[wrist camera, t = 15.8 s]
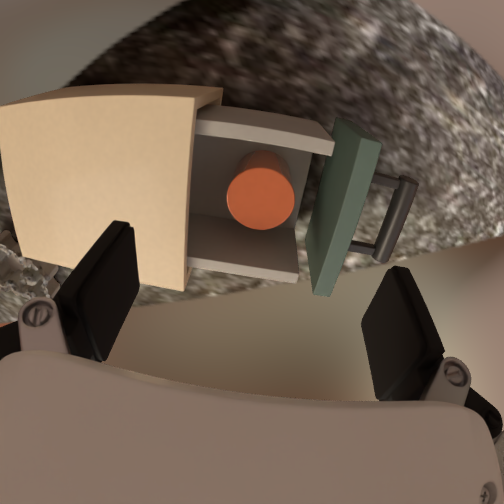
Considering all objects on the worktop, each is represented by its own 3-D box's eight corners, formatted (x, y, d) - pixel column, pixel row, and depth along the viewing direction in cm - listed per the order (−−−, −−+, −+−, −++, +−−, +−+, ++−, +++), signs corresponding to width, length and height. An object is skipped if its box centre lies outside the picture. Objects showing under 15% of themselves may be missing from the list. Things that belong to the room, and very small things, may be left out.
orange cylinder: (232, 150, 20) (224, 168, 17) (292, 149, 20) (296, 167, 16) (235, 203, 22) (228, 230, 19) (290, 203, 22) (293, 230, 18)
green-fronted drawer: (403, 136, 19) (447, 164, 14) (364, 250, 25) (386, 304, 19) (176, 93, 19) (137, 104, 13) (169, 218, 24) (140, 267, 19)
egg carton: (3, 265, 30) (-13, 283, 27) (-1, 220, 26) (-22, 238, 23) (62, 299, 32) (46, 321, 29) (62, 255, 28) (42, 278, 25)
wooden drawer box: (223, 87, 19) (195, 97, 12) (208, 225, 25) (184, 291, 18) (67, 87, 19) (-3, 106, 12) (74, 206, 25) (22, 256, 18)
